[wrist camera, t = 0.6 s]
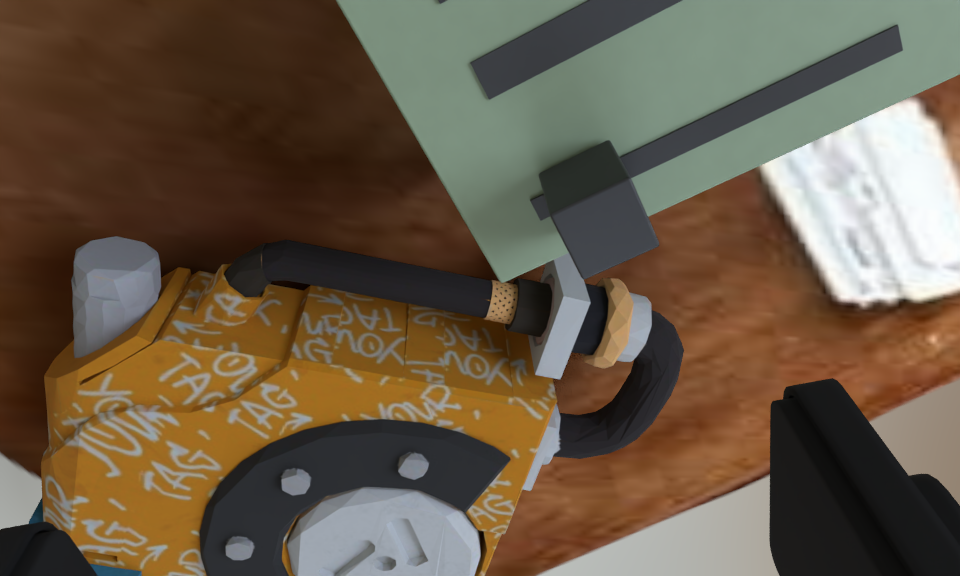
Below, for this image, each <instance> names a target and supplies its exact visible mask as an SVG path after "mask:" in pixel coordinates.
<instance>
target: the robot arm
mask: <svg viewBox="0 0 960 576" xmlns="http://www.w3.org/2000/svg"><path fill="white" fill-rule="evenodd" d="M770 548H771V553H772V557H773V560H774V563H775V566H776V568H777V571H778V573H779V575H780V576H960V506H959V504H958V503H957V502H956V500H955V499H954V498H953V497H952V495H951V494H950V493H949V491H948V490H947V489H946V488H945V487H944V486H943V485H942V484H941V483H940V482H939V481H938V480H937V479H935V478H934V477H932V476H930V475H929V474H916V475H911V476H908V475H907V473H906V472H905V470H904V469H903V468H902V466H901V465H900V464H899V462H898V461H897V460H896V458H895V457H894V456H893V454H892V453H891V451H890V450H889V449H888V447H887V446H886V445H885V443H884V442H883V441H882V439H881V438H880V437H879V435H878V434H877V432H876V431H875V430H874V428H873V427H872V426H871V424H870V423H869V422H868V420H867V419H866V418H865V416H864V415H863V414H862V412H861V411H860V409H859V408H858V407H857V405H856V404H855V403H854V401H853V400H852V399H851V397H850V396H849V395H848V393H847V392H846V391H845V389H844V388H843V387H842V385H841V384H840V383H839V382H838V381H837V380H835V379H833V378H832V379H826V380H821V381H815V382H810V383H804V384H799V385H793V386H788V387H786V388H785V391H784V396H783V399H782V400H777V401H773V402H772V404H771V421H770ZM0 576H98V575H97V574H96V572H95V571H94V569H93V568H92V567H91V565H90V564H89V562H88V561H87V560H86V558H85V557H84V555H83V554H82V553H81V551H80V550H79V549H78V547H77V546H76V544H75V543H74V542H73V540H72V539H71V537H70V536H69V535H68V534H67V533H66V532H65V531H62V530H58V529H57V528H56V527H55V526H54V525H53V524H51V523H49V522H46V521H45V522H37V523H32V524H26V525H21V526H15V527H10V528H4V529H1V530H0Z"/></svg>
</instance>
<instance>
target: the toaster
mask: <svg viewBox="0 0 960 576" xmlns="http://www.w3.org/2000/svg"><path fill="white" fill-rule="evenodd" d="M336 2H337V3H338V5H339V7H340V8H341V10H342V12H343V14H344V15H345V17H346V19H347V20H348V22H349V24H350V26H351V27H352V29H353V31H354V32H355V34H356V36H357V38H358V39H359V41H360V43H361V44H362V46H363V48H364V50H365V51H366V53H367V55H368V56H369V58H370V60H371V62H372V63H373V65H374V67H375V68H376V70H377V72H378V74H379V75H380V77H381V79H382V80H383V82H384V84H385V86H386V87H387V89H388V91H389V92H390V94H391V96H392V98H393V99H394V101H395V103H396V104H397V106H398V108H399V110H400V111H401V113H402V115H403V116H404V118H405V120H406V122H407V123H408V125H409V127H410V129H411V130H412V132H413V134H414V135H415V137H416V139H417V141H418V142H419V144H420V146H421V147H422V149H423V151H424V153H425V154H426V156H427V158H428V159H429V161H430V163H431V165H432V166H433V168H434V170H435V171H436V173H437V175H438V177H439V178H440V180H441V182H442V183H443V185H444V187H445V189H446V190H447V192H448V194H449V195H450V197H451V199H452V201H453V202H454V204H455V206H456V207H457V209H458V211H459V213H460V214H461V216H462V218H463V219H464V221H465V223H466V225H467V226H468V228H469V230H470V231H471V233H472V235H473V237H474V238H475V240H476V242H477V243H478V245H479V247H480V249H481V250H482V252H483V254H484V255H485V257H486V259H487V261H488V262H489V264H490V266H491V267H492V269H493V271H494V273H495V274H496V276H497V278H498V279H499V281H500V282H501V283H504V282H506V281H508V280H510V279H513V278H515V277H517V276H519V275H521V274H523V273H526V272H528V271H530V270H532V269H534V268H537V267H539V266H541V265H543V264H545V263H548V262H550V261H552V260H554V259H556V258H559V257H561V256H563V255H565V254H567V253H569V252H568V250H567V248H566V247H565V245H564V243H563V241H562V239H561V237H560V235H559V233H558V231H557V229H556V227H555V225H554V223H553V221H552V219H551V217H550V214H549V211H548V207H547V204H546V200H545V197H544V193H543V190H542V186H541V183H540V179H539V173H541V172H543V171H545V170H547V169H549V168H551V167H553V166H555V165H557V164H559V163H561V162H563V161H566V160H568V159H570V158H572V157H574V156H576V155H578V154H580V153H582V152H584V151H586V150H588V149H590V148H592V147H594V146H596V145H599V144H601V143H603V142H605V141H607V140H610V141H611V143H612V145H613V146H614V148H615V150H616V152H617V154H618V155H619V157H620V159H621V161H622V163H623V164H624V166H625V168H626V170H627V172H628V173H629V175H630V177H631V179H632V181H633V184H634V186H635V188H636V191H637V193H638V195H639V197H640V200H641V202H642V204H643V207H644V209H645V211H646V214H647V216H650V215H653V214H655V213H657V212H659V211H661V210H664V209H666V208H668V207H670V206H672V205H675V204H677V203H679V202H681V201H683V200H686V199H688V198H690V197H692V196H694V195H696V194H699V193H701V192H703V191H705V190H707V189H710V188H712V187H714V186H716V185H718V184H721V183H723V182H725V181H727V180H729V179H731V178H734V177H736V176H738V175H740V174H742V173H745V172H747V171H749V170H751V169H753V168H756V167H758V166H760V165H762V164H764V163H767V162H769V161H771V160H773V159H775V158H777V157H780V156H782V155H784V154H786V153H788V152H791V151H793V150H795V149H797V148H799V147H802V146H804V145H806V144H808V143H810V142H813V141H815V140H817V139H819V138H821V137H823V136H826V135H828V134H830V133H832V132H834V131H837V130H839V129H841V128H843V127H845V126H848V125H850V124H852V123H854V122H856V121H858V120H861V119H863V118H865V117H867V116H869V115H872V114H874V113H876V112H878V111H880V110H883V109H885V108H887V107H889V106H891V105H894V104H896V103H898V102H900V101H902V100H904V99H907V98H909V97H911V96H913V95H915V94H918V93H920V92H922V91H924V90H926V89H929V88H931V87H933V86H935V85H937V84H939V83H942V82H944V81H946V80H948V79H950V78H953V77H955V76H957V75H959V74H960V0H336Z"/></svg>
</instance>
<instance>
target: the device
mask: <svg viewBox="0 0 960 576" xmlns="http://www.w3.org/2000/svg"><path fill="white" fill-rule="evenodd" d="M283 280H288V281H293V282H298V283H303V284H309V285H311V286H309V287H308V288H307V289H305V290H304V291H303V290H298V289H293V288H287V287H282V286H277V285H272V284H271V282H272V281H283ZM71 281H72V291H73V301H72V302H73V313H74V319H73V331H74V340H73V341H72V342H71V343H70V344H69V345H68V346H67V347H66V348H65V349H64V350H63V351H62V352H61V353H60V354H59V355H58V356H57V357H56V358H55V359H54V360H53V362H52V364H51V365H50V367H49V369H48V370H47V372H46V374H45V375H44V382H45V393H46V403H47V417H48V436H49V446H48V448H47V449H46V451H45V452H44V454H43V458H42V461H41V475H42V499H41V500H40V503H39V504H38V506H37V508H36V510H35V512H34V514H33V516H32V518H31V519H30V521H29V524H32V523H37V522H45V521H46V522H49V523H51V524H53V525H54V526H55V527H56V528H57V529H58V530H62V531H65V532H66V533H67V534H68V535H69V536H70V537H71V539H72V540H73V542H74V543H75V544H76V546H77V547H78V549H79V550H80V551H81V553H82V554H83V555H84V557H85V558H86V560H87V561H88V562H89V564H90V565H91V567H92V568H93V569H94V571H95V572H96V574H97V575H98V576H485V574H486V571H487V569H488V566H489V564H490V561H491V558H492V556H493V553H494V551H495V548H496V546H497V543H498V541H499V539H500V537H501V534H505V533H506V530H507V527H508V525H509V522H510V520H511V517H512V515H513V512H514V510H515V507H516V504H517V502H518V499H519V497H520V494H521V492H522V490H529V491H531V489H532V487H533V484H534V482H535V480H536V477H537V475H538V472H539V470H540V468H541V465H542V464H549V463H550V461H551V459H552V457H553V456H555V457H566V458H578V459H581V458H587V457H592V456H598V455H604V454H608V453H611V452H613V451H616V450H618V449H621V448H623V447H625V446H626V445H628V444H630V443H631V442H633V441H634V440H636V439H637V438H638V437H639V436H640V435H641V434H642V433H643V432H644V431H645V430H646V429H647V428H648V427H649V426H650V425H651V424H652V423H653V421H654V420H655V418H656V417H657V415H658V414H659V412H660V411H661V409H662V408H663V406H664V405H665V403H666V402H667V400H668V399H669V397H670V396H671V393H672V391H673V389H674V387H675V384H676V382H677V380H678V376H679V371H680V366H681V362H682V357H683V352H684V349H683V346H682V343H681V341H680V338H679V336H678V334H677V332H676V329H675V327H674V325H672V324H671V323H670V322H669V321H668V320H667V319H665V318H664V317H663V316H662V315H661V314H660V313H657V312H655V311H652V310H651V303H650V301H649V300H648V299H647V297H645V296H641V295H637V294H633V293H629V292H628V289H627V287H626V285H625V284H624V283H623V282H622V281H621V280H619V279H612V278H602V279H601V280H600V281H599V282H598V283H597V285H596V286H594V285H590V284H585V283H584V279H583V278H581V276H580V274H579V272H578V270H577V268H576V266H575V264H574V262H573V260H572V258H571V256H570V254H569V253H567V254H565V255H563V256H561V257H559V258H556V259H554V260H552V261H550V262H548V263H546V266H545V269H544V272H543V274H542V277H541V280H540V282H536V281H531V280H525V279H520V278H517V279H516V280H514V283H513V284H511V283H506V282H504V283H501V282H500V281H495V280H491V281H490V280H485V279H480V278H475V277H470V276H465V275H460V274H455V273H450V272H445V271H440V270H435V269H430V268H425V267H420V266H415V265H410V264H405V263H401V262H396V261H391V260H386V259H381V258H376V257H371V256H366V255H361V254H356V253H351V252H346V251H341V250H336V249H331V248H326V247H321V246H316V245H311V244H306V243H301V242H296V241H291V240H282V241H278V242H273V243H263V244H262V245H260V246H258V247H256V248H254V249H253V250H251V251H249V252H247V253H245V254H243V255H242V256H240V257H238V258H236V259H235V260H234V262H233V263H232V264H223V265H221V267H220V268H219V270H218V271H217V272H216V274H213V273H208V272H202V271H198V272H197V273H195V274H193V275H191V271H190V269H186V268H181V267H178V268H176V269H175V270H173V271H172V272H170V273H168V274H167V275H165V276H163V277H162V278H161V272H160V260H159V255H158V252H157V251H155V250H154V249H153V248H151V247H150V246H148V245H147V244H146V243H144V242H140V241H135V240H131V239H126V238H122V237H117V236H116V237H110V238H104V239H98V240H92V241H90V242H88V243H87V244H85V245H83V246H81V247H80V248H78V249H76V253H75V259H74V274H73V277H72V280H71ZM313 285H314V286H313ZM349 292H351V293H349ZM355 293H356V294H355ZM360 294H361V295H360ZM365 295H366V296H365ZM370 296H372V297H370ZM376 297H377V298H376ZM381 298H382V299H381ZM386 299H387V300H386ZM391 300H393V301H391ZM396 301H398V302H396ZM402 302H403V303H402ZM407 303H408V304H407ZM444 310H445V311H444ZM449 311H450V312H449ZM454 312H456V313H454ZM459 313H461V314H459ZM464 314H466V315H464ZM470 315H471V316H470ZM475 316H476V317H475ZM480 317H482V318H480ZM571 352H574V353H581V355H582V358H583V361H584V362H586V363H589V364H591V365H593V366H596V367H600V368H607V367H610V366H613V365H614V363H615V362H616V360H618V361H622V362H632V361H633V360H634V359H635V360H634V363H633V366H632V370H631V373H630V374H629V376H628V378H627V379H626V381H625V382H624V384H623V386H622V387H621V389H620V391H619V392H618V393H617V395H616V396H615V398H614V399H613V400H612V401H611V402H610V403H608V404H607V405H606V406H604V407H603V408H601V409H600V410H598V411H596V412H592V413H587V414H582V415H573V414H564V413H559V410H558V407H557V404H556V402H557V398H556V393H555V388H554V383H553V378H555V379H561V377H562V374H563V371H564V369H565V366H566V364H567V361H568V359H569V356H570V354H571Z"/></svg>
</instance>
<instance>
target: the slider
mask: <svg viewBox="0 0 960 576" xmlns="http://www.w3.org/2000/svg"><path fill="white" fill-rule="evenodd" d="M539 179H540V183H541V186H542V190H543V193H544V197H545V200H546V204H547V207H548V211H549V214H550V217H551V219H552V221H553V223H554V225H555V227H556V229H557V231H558V233H559V235H560V237H561V239H562V241H563V243H564V245H565V247H566V248H567V250H568V252H569V254H570V256H571V258H572V260H573V262H574V264H575V266H576V268H577V270H578V272H579V274H580V276H581V278H583V279H586V278H589V277H591V276H593V275H595V274H598V273H600V272H602V271H604V270H607V269H609V268H611V267H613V266H616V265H618V264H620V263H622V262H625V261H627V260H629V259H631V258H634V257H636V256H638V255H640V254H642V253H645V252H647V251H649V250H651V249H654V248H656V247H658V246H659V241H658V239H657V237H656V234H655V232H654V230H653V227H652V225H651V223H650V221H649V218H648V216H647V214H646V211H645V209H644V207H643V204H642V202H641V200H640V197H639V195H638V193H637V191H636V188H635V186H634V184H633V181H632V179H631V177H630V175H629V173H628V172H627V170H626V168H625V166H624V164H623V163H622V161H621V159H620V157H619V155H618V154H617V152H616V150H615V148H614V146H613V145H612V143H611V141H610V140H607V141H605V142H603V143H601V144H599V145H596V146H594V147H592V148H590V149H588V150H586V151H584V152H582V153H580V154H578V155H576V156H574V157H572V158H570V159H568V160H566V161H563V162H561V163H559V164H557V165H555V166H553V167H551V168H549V169H547V170H545V171H543V172H541V173H539Z"/></svg>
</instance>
